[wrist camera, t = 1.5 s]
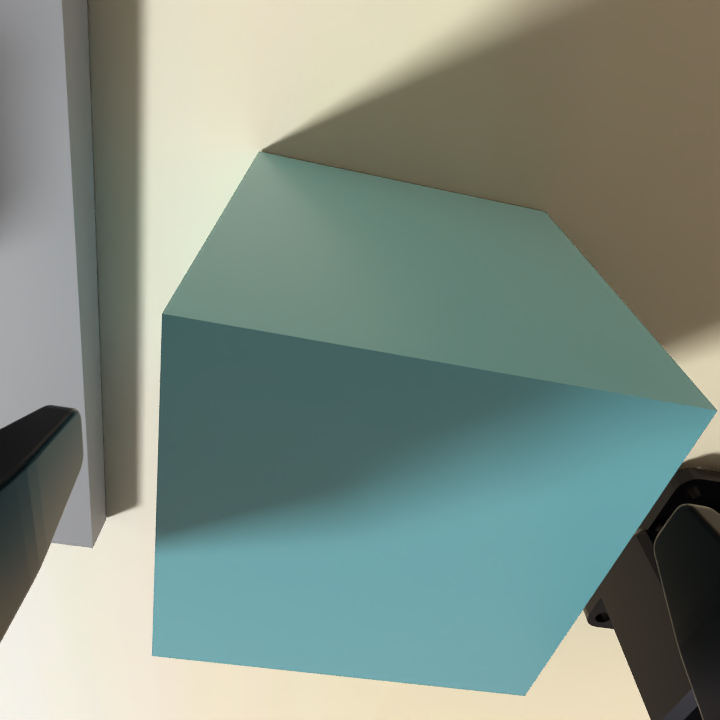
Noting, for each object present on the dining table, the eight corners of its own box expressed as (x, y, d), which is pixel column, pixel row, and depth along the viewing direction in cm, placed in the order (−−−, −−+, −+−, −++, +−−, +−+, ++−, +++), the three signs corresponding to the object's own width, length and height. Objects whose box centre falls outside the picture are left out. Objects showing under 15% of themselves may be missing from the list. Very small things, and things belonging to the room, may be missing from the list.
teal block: (545, 211, 12) (717, 409, 6) (460, 430, 15) (524, 695, 9) (258, 151, 11) (162, 313, 5) (232, 393, 14) (152, 655, 9)
